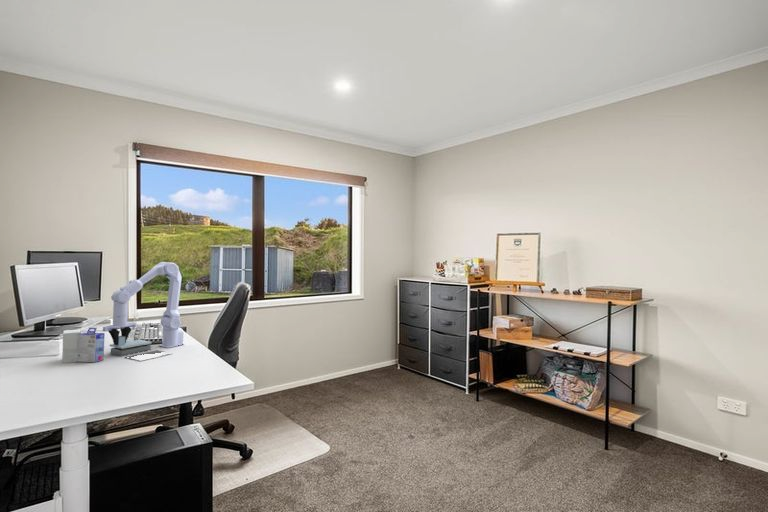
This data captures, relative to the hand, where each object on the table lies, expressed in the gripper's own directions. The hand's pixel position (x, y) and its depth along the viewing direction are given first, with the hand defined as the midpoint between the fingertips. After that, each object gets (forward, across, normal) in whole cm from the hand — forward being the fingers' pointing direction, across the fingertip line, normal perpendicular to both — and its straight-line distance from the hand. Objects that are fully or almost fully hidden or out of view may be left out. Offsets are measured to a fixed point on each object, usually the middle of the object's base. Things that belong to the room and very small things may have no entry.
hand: (119, 343), depth 194 cm
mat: (+5, -5, +14) cm, 16 cm away
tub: (+5, -5, 0) cm, 7 cm away
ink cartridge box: (+5, +13, 0) cm, 14 cm away
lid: (+1, -5, 0) cm, 6 cm away
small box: (+5, +17, -7) cm, 19 cm away
